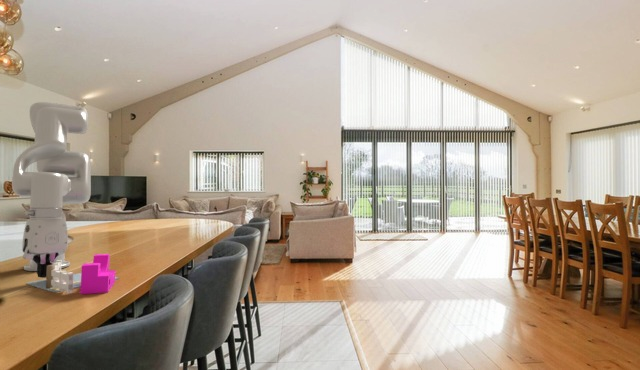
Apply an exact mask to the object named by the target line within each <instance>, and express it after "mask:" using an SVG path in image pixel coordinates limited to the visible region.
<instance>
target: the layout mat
mask: <svg viewBox="0 0 640 370" xmlns="http://www.w3.org/2000/svg"><path fill="white" fill-rule="evenodd" d="M116 280H120V277H117V276H115V281H116ZM25 283H26V284H25V285H29V286H31V285H32V287H35V288H38V289H42V290H45V291H47V292H50V293H54V294H56V293H60V292H61V291H59V289H52V288H50V289H47V288H46V279H45V278H44V279H41V280H40V279H39V280H34V281H28V282H25ZM78 288H79V289H80V288H81V272H78V273H73V290H74V289H78Z"/></svg>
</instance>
